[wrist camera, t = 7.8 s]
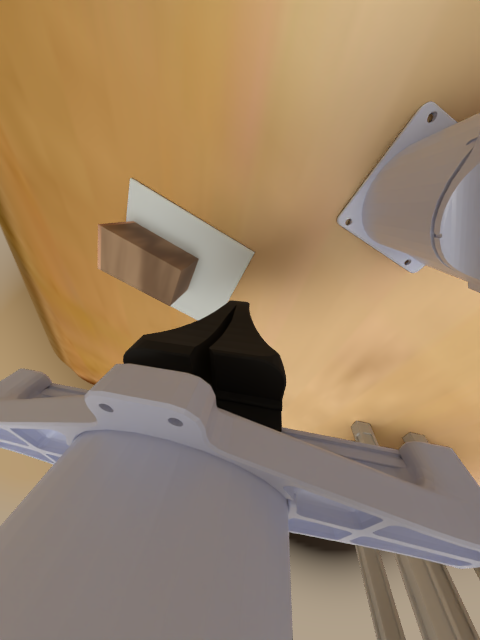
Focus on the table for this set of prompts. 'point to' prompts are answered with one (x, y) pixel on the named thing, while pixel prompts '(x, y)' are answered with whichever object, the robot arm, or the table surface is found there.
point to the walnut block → (145, 260)
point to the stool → (412, 584)
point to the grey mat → (192, 249)
